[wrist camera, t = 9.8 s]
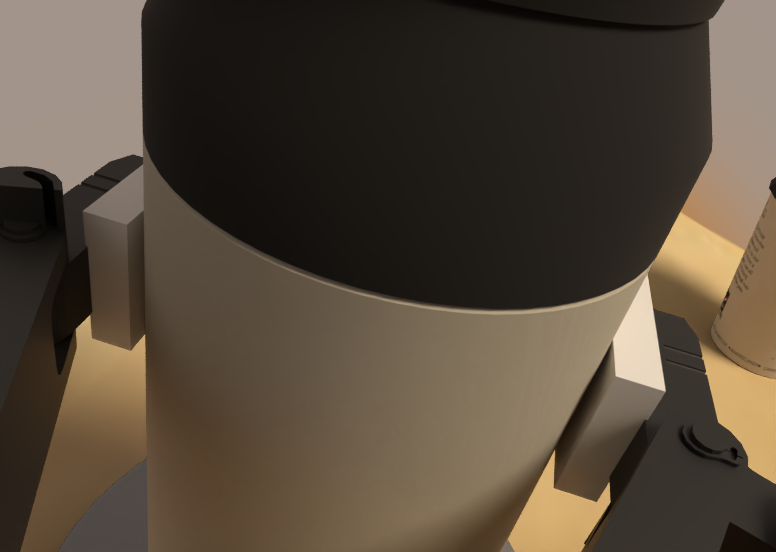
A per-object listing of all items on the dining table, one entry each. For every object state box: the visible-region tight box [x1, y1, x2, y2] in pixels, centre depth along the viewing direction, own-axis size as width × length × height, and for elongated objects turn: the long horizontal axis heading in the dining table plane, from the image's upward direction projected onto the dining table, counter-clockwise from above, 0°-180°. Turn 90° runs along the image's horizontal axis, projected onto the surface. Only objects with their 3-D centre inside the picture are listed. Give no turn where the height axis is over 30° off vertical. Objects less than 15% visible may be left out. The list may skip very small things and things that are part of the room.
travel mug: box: [141, 0, 724, 552], centre depth 13 cm, size 8×8×18 cm
